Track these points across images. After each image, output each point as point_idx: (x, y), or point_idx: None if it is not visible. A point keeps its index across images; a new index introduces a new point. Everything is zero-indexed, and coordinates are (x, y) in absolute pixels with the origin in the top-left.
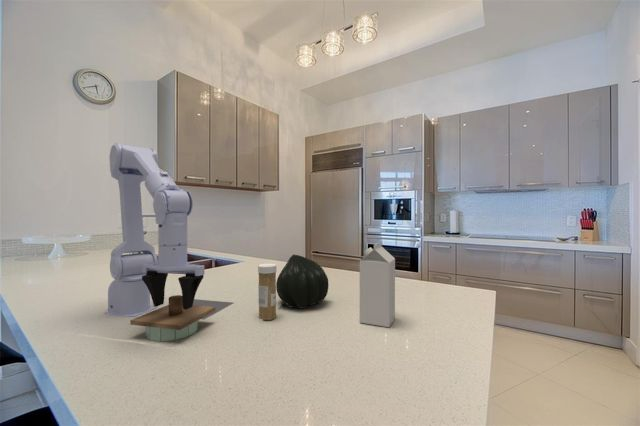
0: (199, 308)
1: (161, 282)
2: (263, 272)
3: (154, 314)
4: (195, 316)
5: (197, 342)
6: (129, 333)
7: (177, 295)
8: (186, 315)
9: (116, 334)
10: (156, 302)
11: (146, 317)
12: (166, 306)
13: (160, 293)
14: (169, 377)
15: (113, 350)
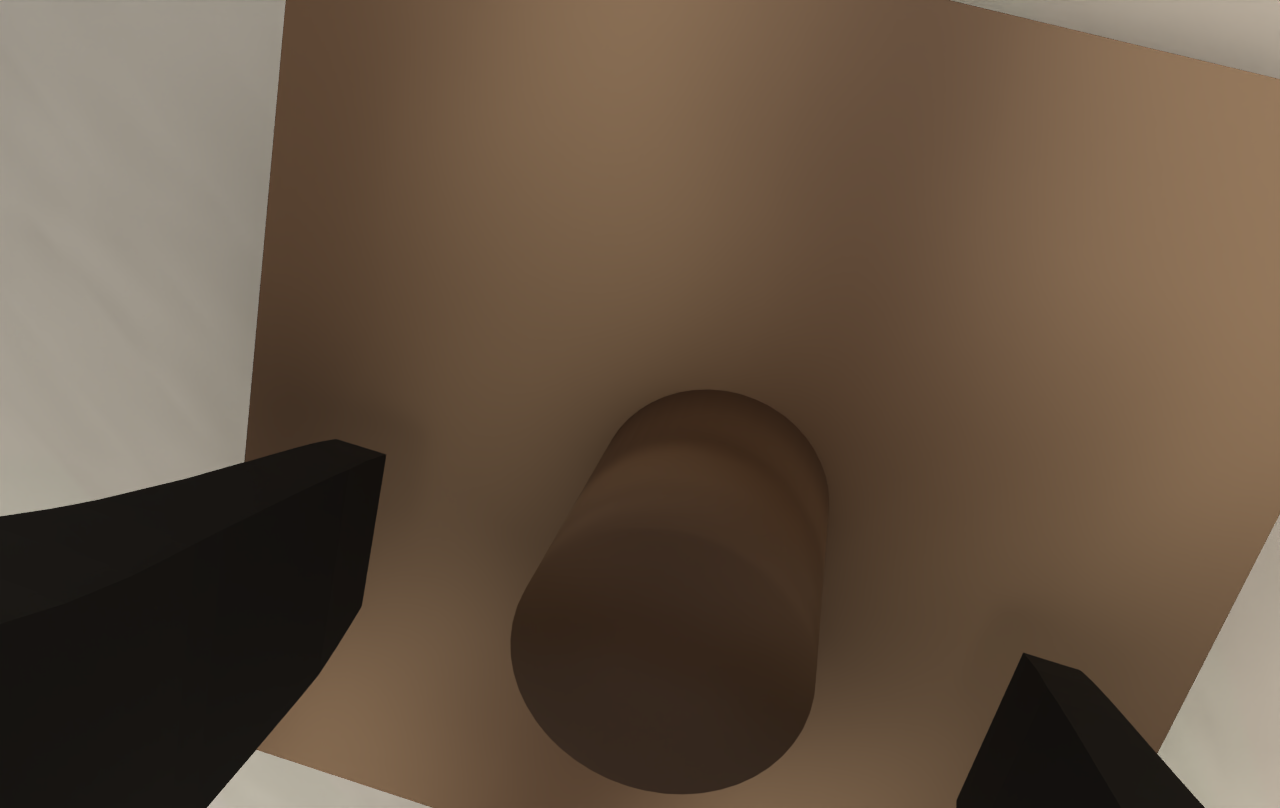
0: (1094, 240)
1: (59, 762)
2: None
3: (389, 537)
4: (1152, 686)
5: (1180, 724)
6: (192, 408)
7: (635, 542)
8: (963, 626)
9: (73, 429)
10: (324, 641)
11: (354, 650)
12: (320, 93)
13: (248, 628)
14: None
15: (353, 796)
